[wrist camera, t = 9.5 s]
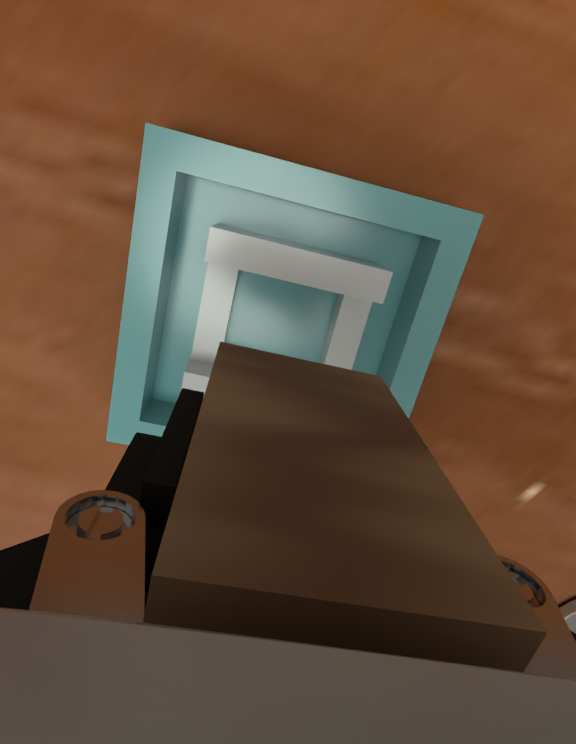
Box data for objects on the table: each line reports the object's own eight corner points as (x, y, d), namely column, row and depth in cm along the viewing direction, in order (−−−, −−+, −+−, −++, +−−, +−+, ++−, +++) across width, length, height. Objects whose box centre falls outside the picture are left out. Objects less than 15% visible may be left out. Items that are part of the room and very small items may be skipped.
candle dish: (452, 212, 26) (488, 215, 21) (367, 457, 31) (383, 497, 27) (164, 134, 24) (142, 120, 19) (126, 410, 29) (103, 445, 25)
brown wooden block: (380, 376, 13) (547, 632, 5) (336, 507, 14) (417, 850, 7) (219, 341, 12) (151, 575, 5) (191, 482, 14) (105, 829, 6)
